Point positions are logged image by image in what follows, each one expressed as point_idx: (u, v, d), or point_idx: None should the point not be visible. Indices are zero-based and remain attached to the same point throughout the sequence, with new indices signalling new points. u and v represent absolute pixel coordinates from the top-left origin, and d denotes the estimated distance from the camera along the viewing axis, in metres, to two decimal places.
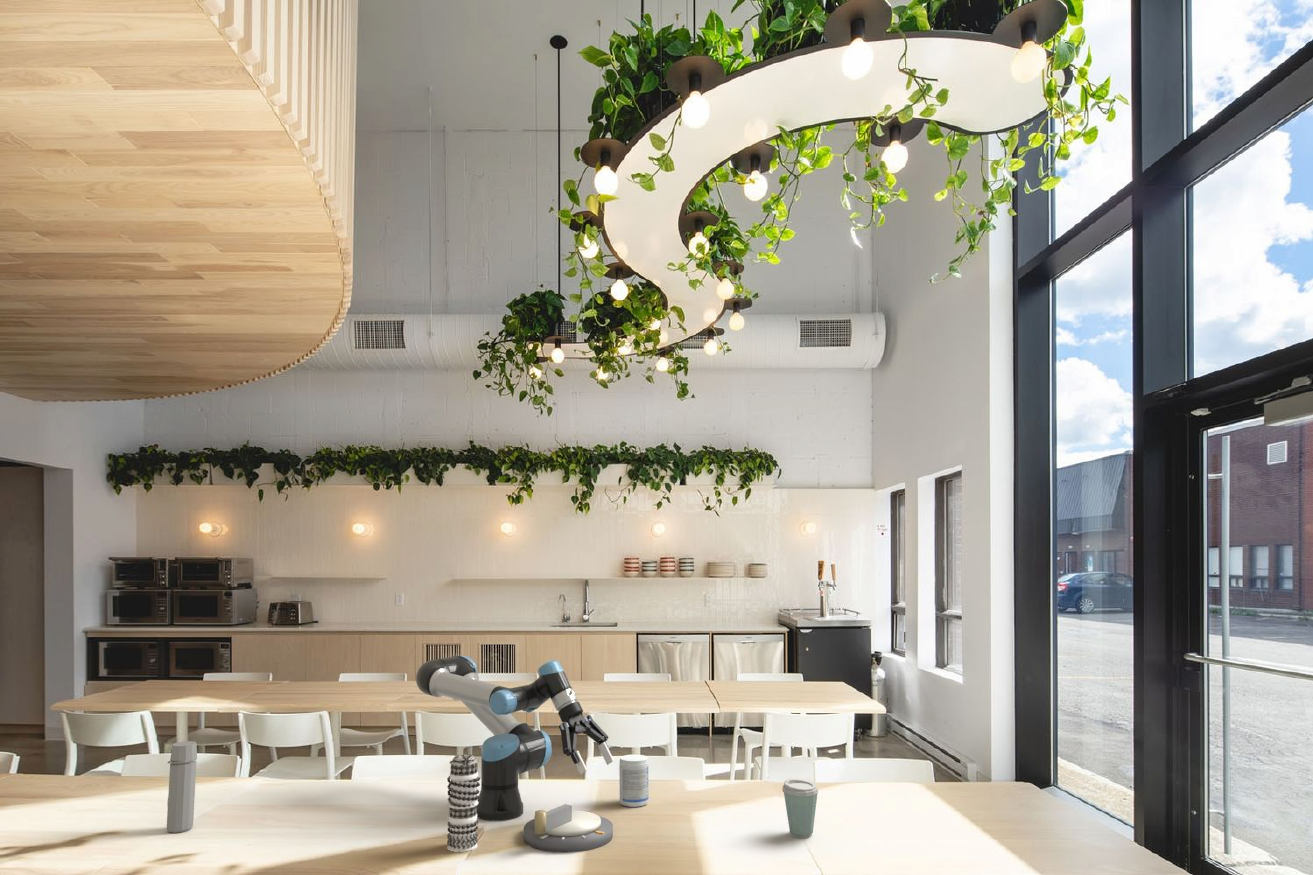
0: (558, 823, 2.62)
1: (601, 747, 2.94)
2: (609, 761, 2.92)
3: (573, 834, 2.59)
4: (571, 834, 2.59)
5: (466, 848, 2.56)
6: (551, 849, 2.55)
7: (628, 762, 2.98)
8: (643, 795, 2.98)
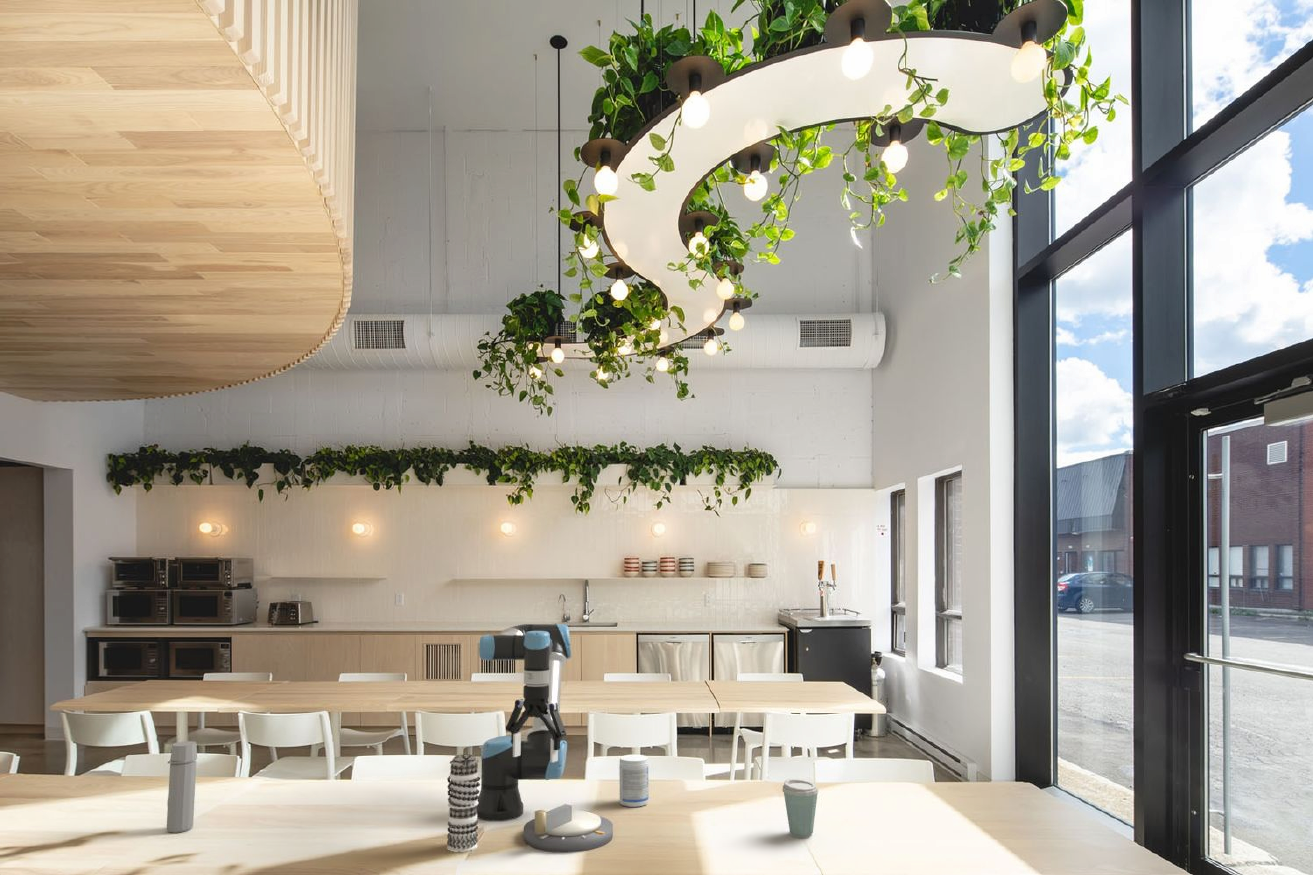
0: (558, 823, 2.62)
1: None
2: None
3: (573, 834, 2.59)
4: (571, 834, 2.59)
5: (466, 848, 2.56)
6: (551, 849, 2.55)
7: (628, 762, 2.98)
8: (643, 795, 2.98)
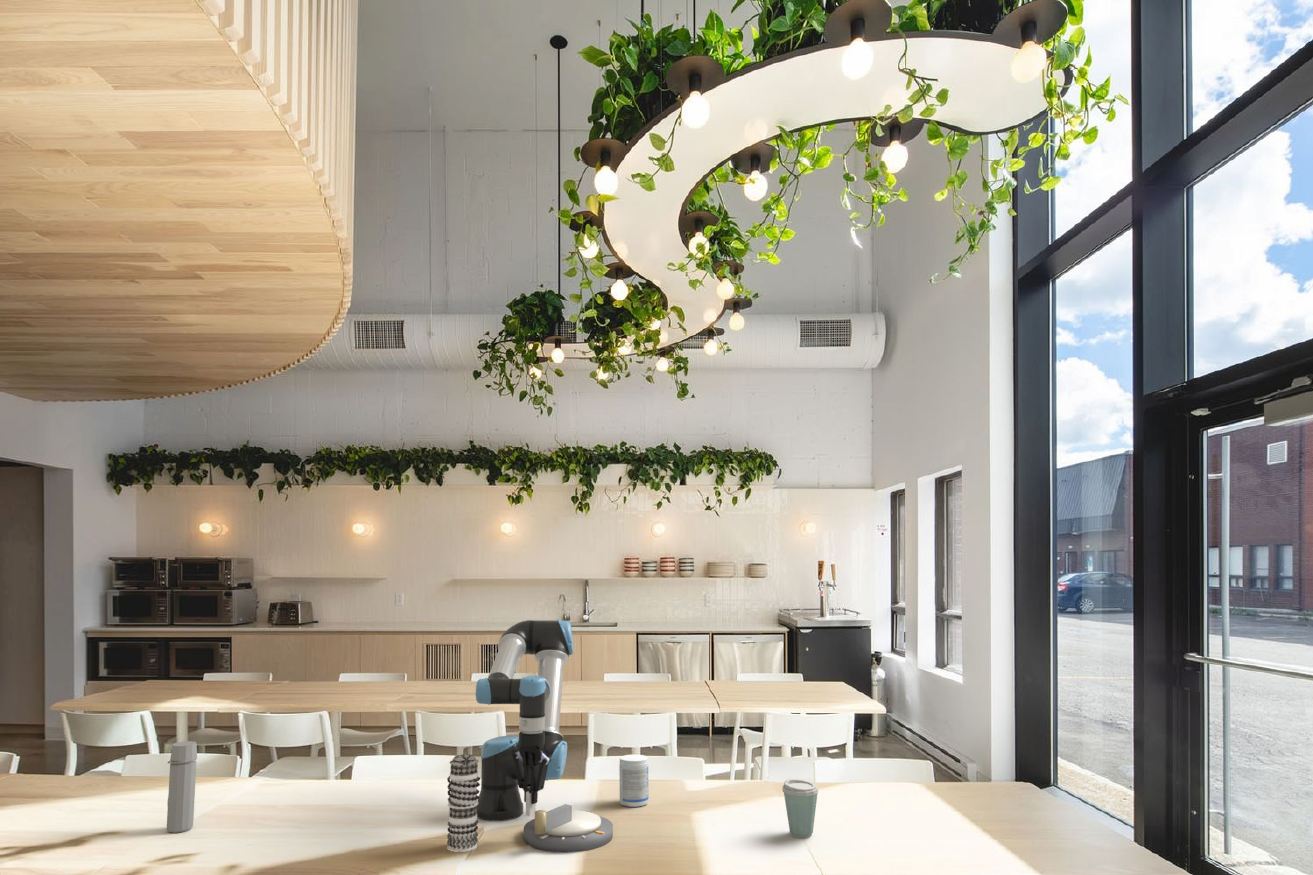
0: (558, 823, 2.62)
1: None
2: None
3: (573, 834, 2.59)
4: (571, 834, 2.59)
5: (466, 848, 2.56)
6: (551, 849, 2.55)
7: (628, 762, 2.98)
8: (643, 795, 2.98)
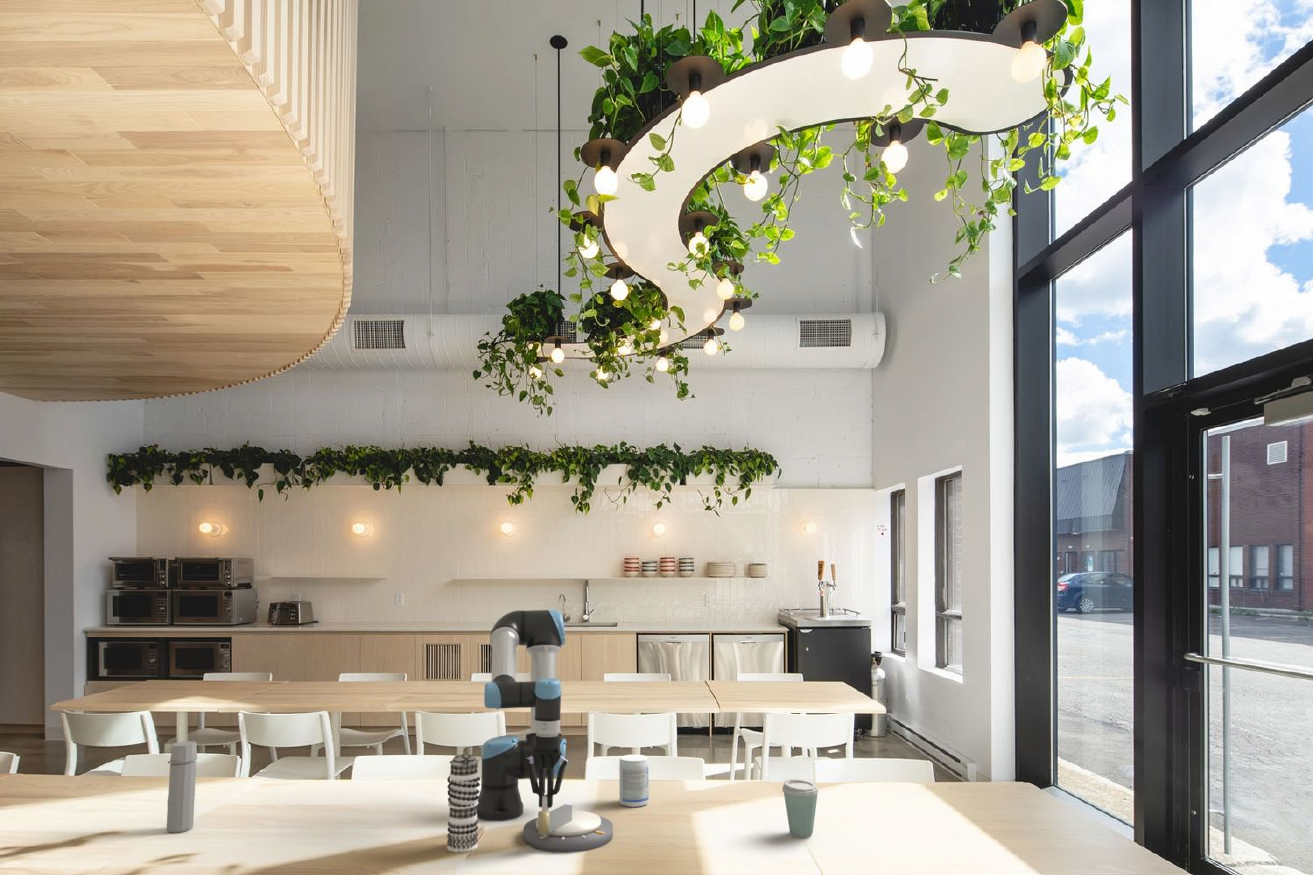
0: (560, 823, 2.62)
1: None
2: None
3: (576, 834, 2.59)
4: (574, 834, 2.59)
5: (466, 848, 2.56)
6: (551, 849, 2.55)
7: (628, 762, 2.98)
8: (643, 795, 2.98)
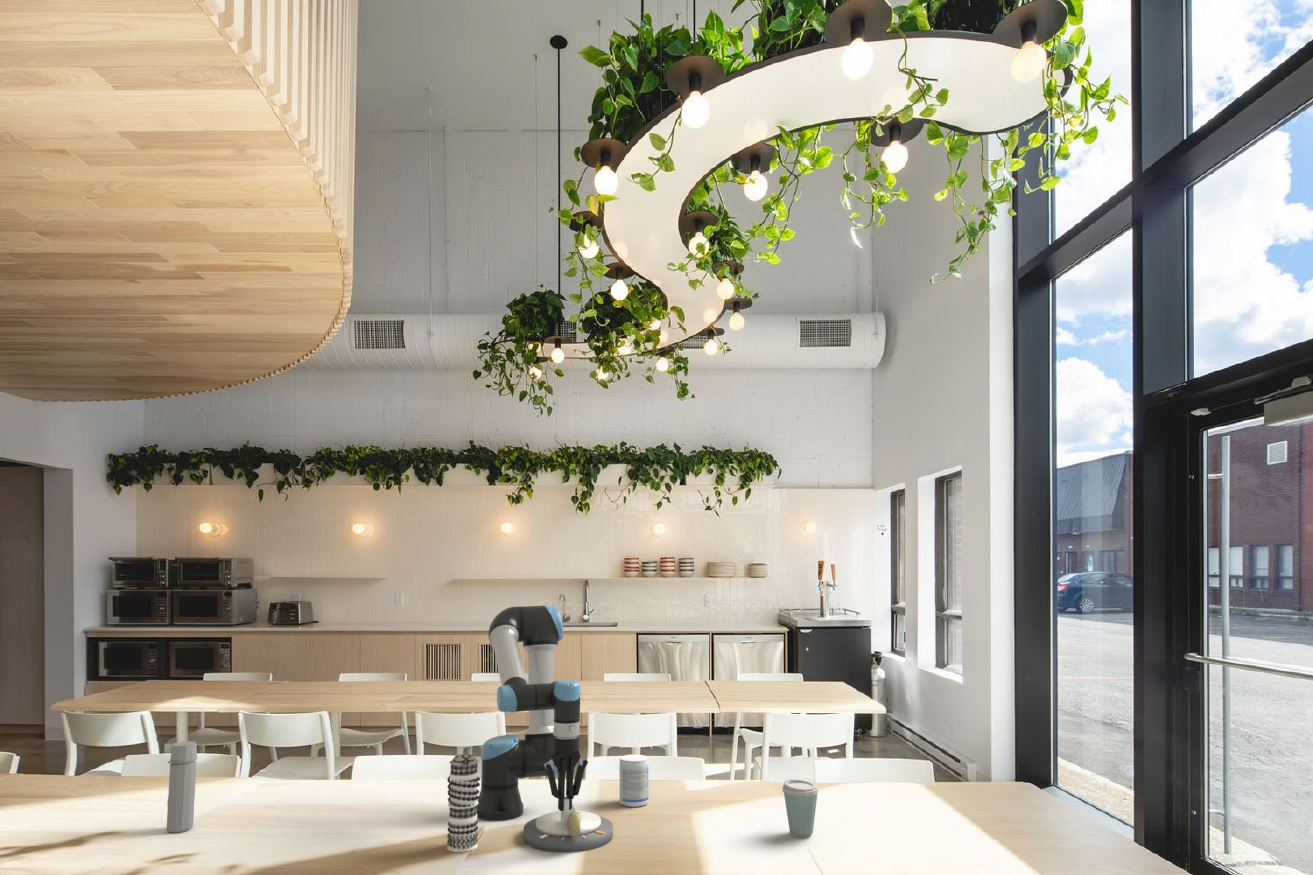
0: None
1: None
2: None
3: (595, 829, 2.63)
4: (593, 830, 2.63)
5: (466, 848, 2.56)
6: (551, 849, 2.55)
7: (628, 762, 2.98)
8: (643, 795, 2.98)
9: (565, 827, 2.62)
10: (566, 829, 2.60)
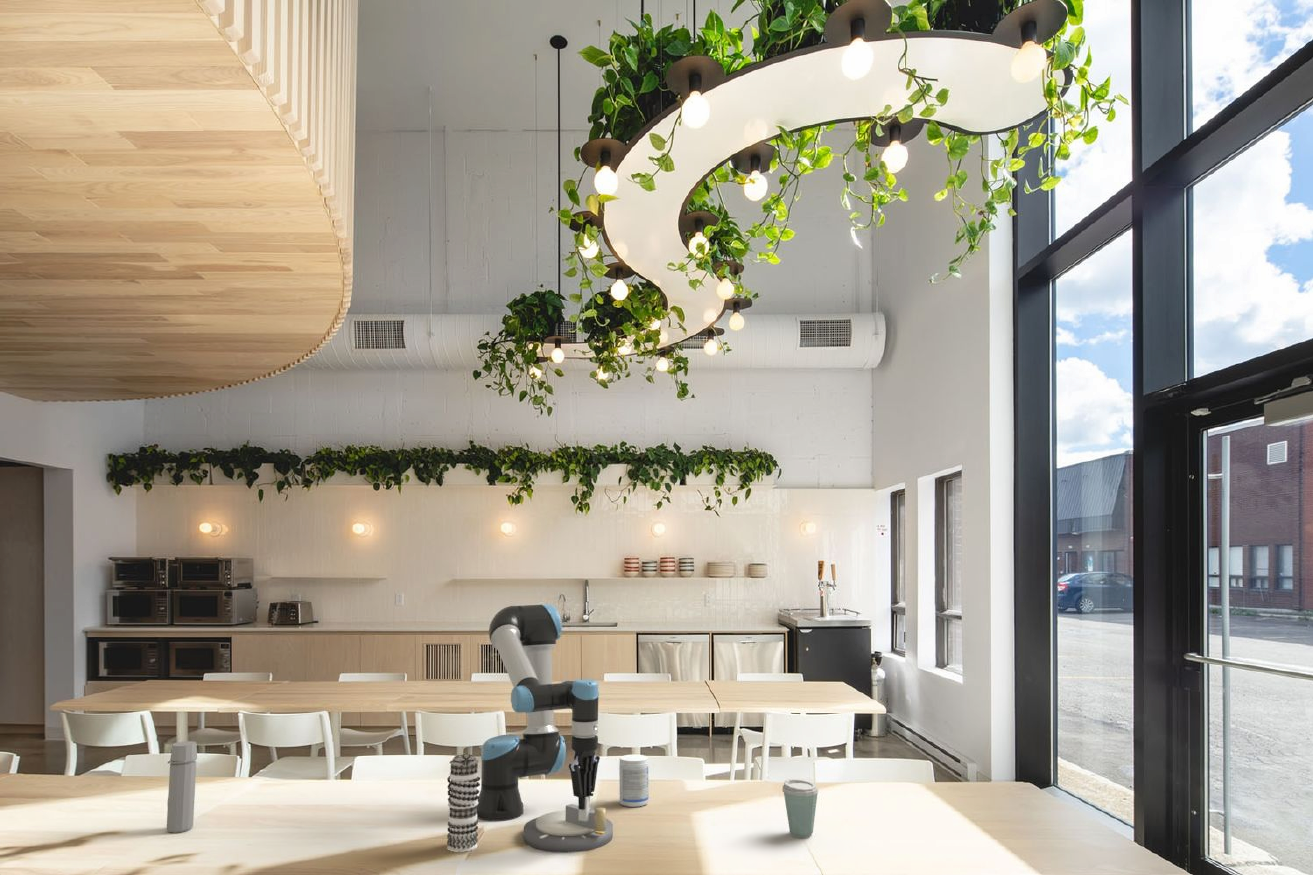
0: None
1: None
2: None
3: None
4: None
5: (466, 848, 2.56)
6: (551, 849, 2.55)
7: (628, 762, 2.98)
8: (643, 795, 2.98)
9: (579, 826, 2.63)
10: (584, 827, 2.62)
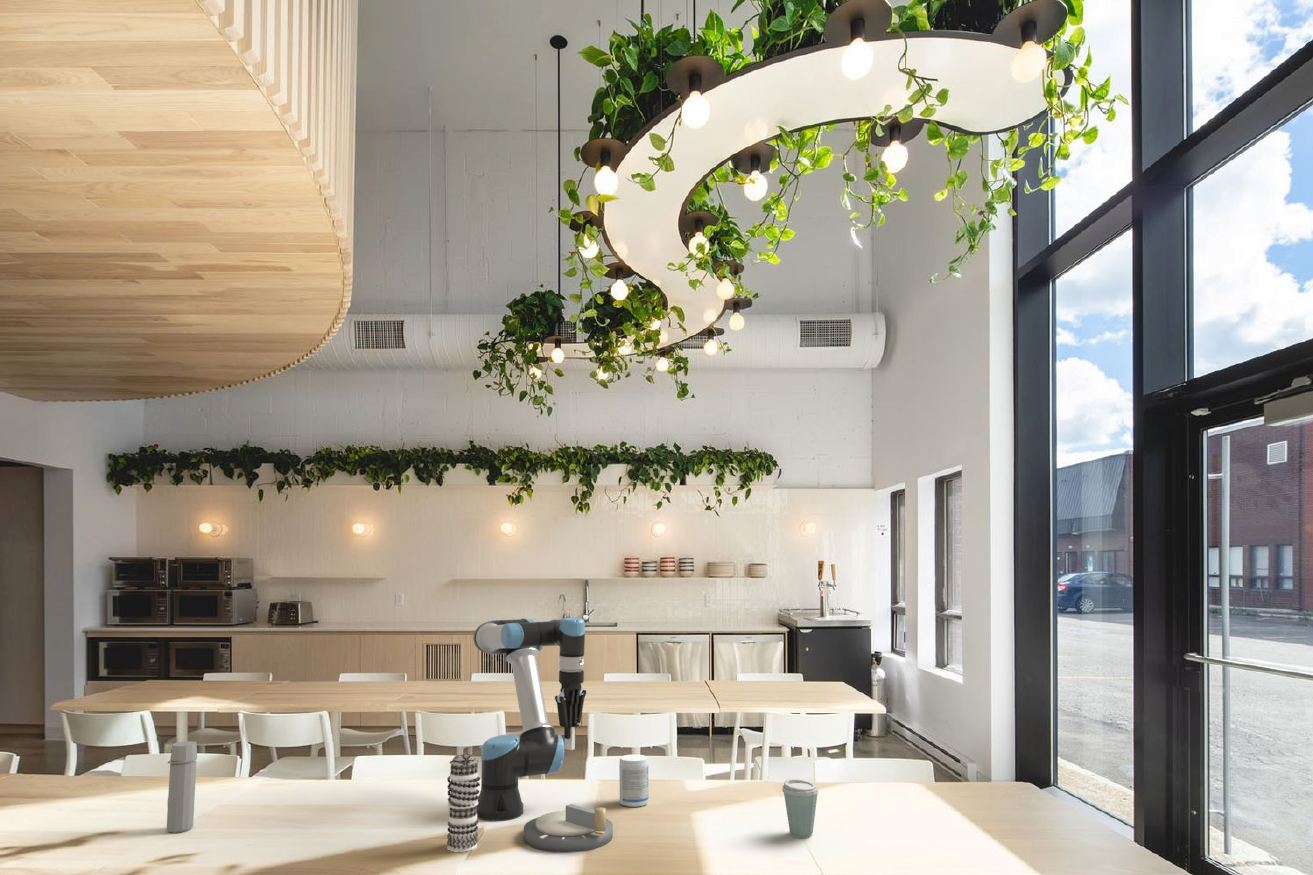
0: None
1: None
2: None
3: None
4: None
5: (466, 848, 2.56)
6: (551, 849, 2.55)
7: (628, 762, 2.98)
8: (643, 795, 2.98)
9: (579, 826, 2.63)
10: (584, 827, 2.62)
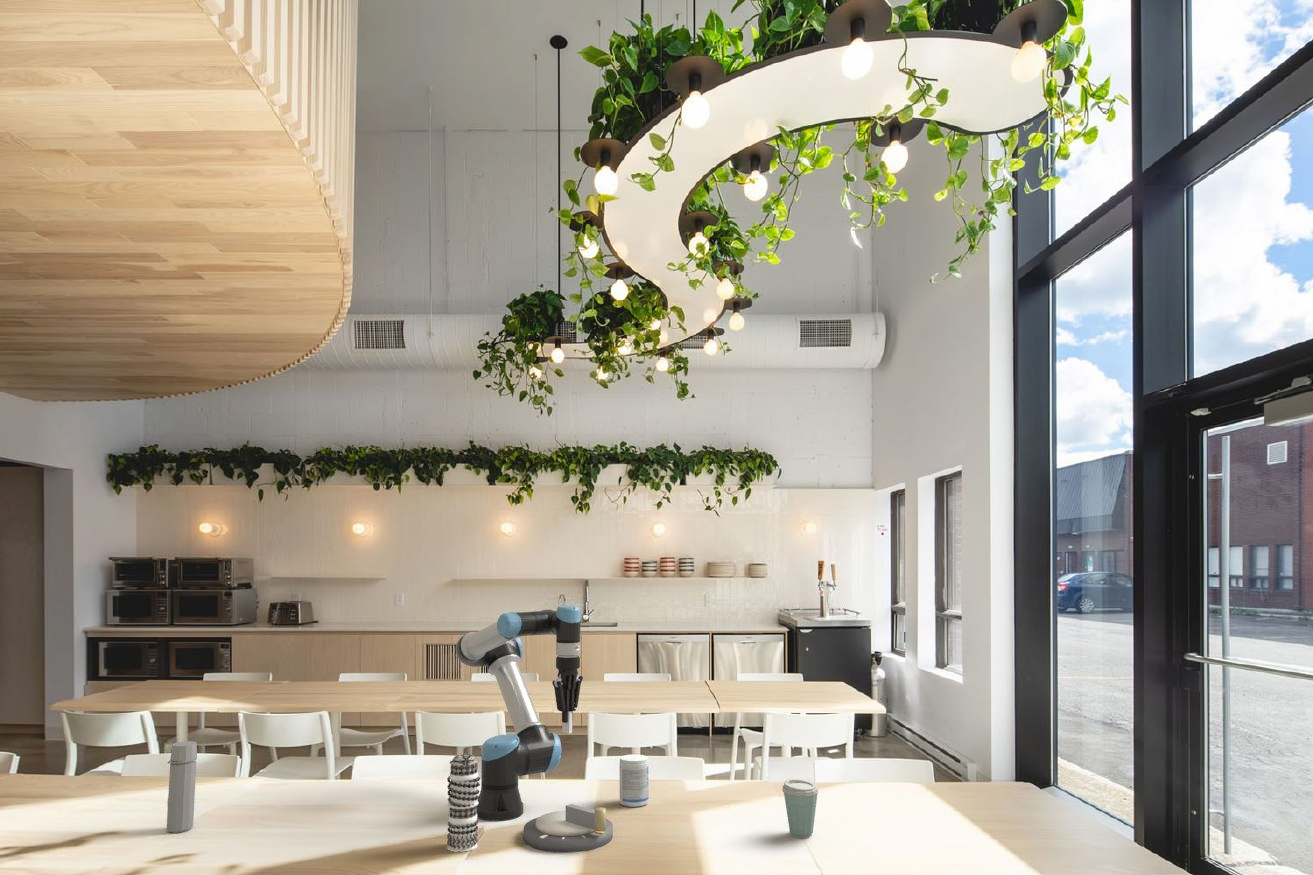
0: None
1: None
2: None
3: None
4: None
5: (466, 848, 2.56)
6: (551, 849, 2.55)
7: (628, 762, 2.98)
8: (643, 795, 2.98)
9: (579, 826, 2.63)
10: (584, 827, 2.62)
